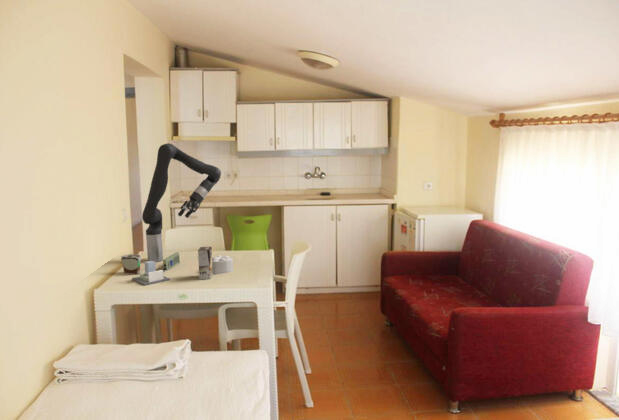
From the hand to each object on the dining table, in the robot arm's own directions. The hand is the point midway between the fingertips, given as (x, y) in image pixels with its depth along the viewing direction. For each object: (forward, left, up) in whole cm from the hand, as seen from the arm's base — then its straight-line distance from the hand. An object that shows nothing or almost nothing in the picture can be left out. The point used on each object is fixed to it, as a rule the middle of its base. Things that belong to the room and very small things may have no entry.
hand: (182, 216), depth 283 cm
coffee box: (+28, -3, -31) cm, 42 cm away
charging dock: (+11, -27, -31) cm, 42 cm away
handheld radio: (-7, -6, -31) cm, 33 cm away
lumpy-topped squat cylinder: (+24, +10, -31) cm, 40 cm away
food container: (-11, -26, -31) cm, 42 cm away
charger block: (+11, -27, -30) cm, 41 cm away
